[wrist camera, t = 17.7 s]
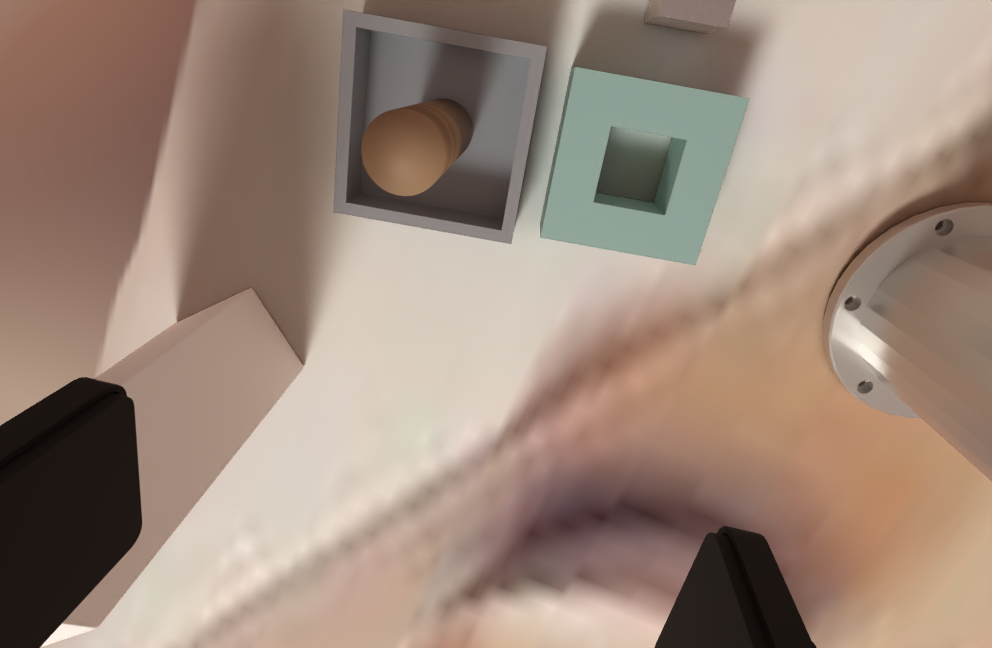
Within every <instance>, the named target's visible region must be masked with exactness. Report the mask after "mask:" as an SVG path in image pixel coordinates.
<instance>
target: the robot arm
mask: <svg viewBox="0 0 992 648" xmlns="http://www.w3.org/2000/svg"><path fill="white" fill-rule="evenodd" d="M847 298H848V299H847ZM822 340H823V346H824V352H825V357H826V359H827V361H828V363H829V366H830V368H831V370H832V372H833V373H834V375H835V376H836V377H837V379H838V380H839V381H840V382H841V384H842V385H843V386H844V387H845V388H846V389H847V390H848V391H849V392H850V393H851V394H852V395H853V396H854V397H855V398H857V399H858V400H860V401H861V402H863V403H865V404H866V405H868V406H869V407H871V408H873V409H876V410H879V411H881V412H884V413H887V414H890V415H895V416H901V417H906V418H921V419H922V420H924V421H925V422H926V423H927V424H928V425H929V426H930V427H931V428H932V429H934V430H935V431H936V432H937V433H938V434H939V435H940V436H941V437H943V438H944V439H945V440H946V441H947V442H948V443H949V444H950V445H951V446H953V447H954V448H955V449H956V450H957V451H958V452H959V453H960V454H961V455H963V456H964V457H965V458H966V459H967V460H968V461H969V462H970V463H972V464H973V465H974V466H975V467H976V468H977V469H978V470H979V471H980V472H982V473H983V474H984V475H985V476H986V477H987V478H988V479H989V480H991V481H992V203H988V202H985V203H959V204H954V205H948V206H943V207H938V208H935V209H932V210H929V211H927V212H924V213H921V214H918V215H915V216H913V217H911V218H909V219H907V220H905V221H903V222H901V223H900V224H898V225H896V226H894V227H892V228H890V229H889V230H887V231H886V232H885V233H883V234H882V235H881V236H879V237H878V238H877V239H875V240H874V241H873V242H871V243H870V244H869V245H868V246H867V247H866V248H865V249H864V250H863V251H862V252H861V253H860V254H859V255H858V256H857V257H856V258H855V259H854V260H853V261H852V262H851V263H850V265H849V266H848V268H847V269H846V270H845V272H844V273H843V274H842V276H841V277H840V279H839V280H838V282H837V284H836V286H835V288H834V290H833V292H832V294H831V296H830V298H829V300H828V304H827V308H826V311H825V315H824V319H823V333H822ZM141 529H142V509H141V495H140V480H139V465H138V451H137V436H136V421H135V407H134V402H133V400H132V399H131V398H130V397H127V393H126V391H125V389H124V388H123V387H122V386H120V385H117V384H113V383H108V382H104V381H100V380H95V379H91V378H87V377H86V378H85V377H84V378H78V379H76V380H74V381H72V382H70V383H69V384H67V385H66V386H64V387H62V388H61V389H59V390H57V391H56V392H54V393H53V394H51V395H49V396H48V397H46V398H44V399H43V400H41V401H40V402H38V403H36V404H35V405H33V406H31V407H30V408H28V409H27V410H25V411H23V412H22V413H20V414H18V415H17V416H15V417H14V418H12V419H10V420H9V421H7V422H5V423H4V424H2V425H1V426H0V648H40V647H41V646H42V645H43V644H44V642H45V641H46V640H47V639H48V638H49V637H50V636H51V635H52V634H53V633H54V632H55V630H56V629H57V628H58V627H59V626H60V625H61V624H62V623H63V622H64V621H65V620H66V619H67V617H68V616H69V615H70V614H71V613H72V612H73V611H74V610H75V609H76V608H77V607H78V605H79V604H80V603H81V602H82V601H83V600H84V599H85V598H86V597H87V596H88V595H89V594H90V592H91V591H92V590H93V589H94V588H95V587H96V586H97V585H98V584H99V583H100V582H101V580H102V579H103V578H104V577H105V576H106V575H107V574H108V573H109V572H110V571H111V570H112V568H113V567H114V566H115V565H116V564H117V563H118V562H119V561H120V560H121V559H122V558H123V557H124V555H125V554H126V553H127V552H128V551H129V550H130V549H131V548H132V547H133V545H134V544H135V542H136V541H137V539H138V537H139V535H140V532H141ZM655 648H816V646H815V644H814V643H813V642H812V641H811V639H810V637H809V634H808V632H807V630H806V628H805V625H804V623H803V621H802V619H801V616H800V614H799V612H798V610H797V607H796V605H795V603H794V601H793V598H792V596H791V594H790V592H789V590H788V587H787V585H786V583H785V581H784V578H783V576H782V574H781V572H780V569H779V567H778V565H777V563H776V560H775V558H774V556H773V554H772V551H771V549H770V547H769V545H768V543H767V541H766V539H765V538H764V536H762V535H761V534H758V533H754V532H749V531H745V530H741V529H736V528H732V527H728V526H723V527H722V528H720V529H719V531H718V532H717V534H716V533H709V534H707V535H706V537H705V539H704V541H703V543H702V545H701V547H700V550H699V552H698V554H697V556H696V558H695V560H694V563H693V565H692V567H691V569H690V571H689V573H688V576H687V578H686V580H685V582H684V584H683V586H682V588H681V591H680V593H679V595H678V597H677V599H676V601H675V604H674V606H673V608H672V610H671V612H670V614H669V617H668V619H667V621H666V623H665V625H664V627H663V630H662V632H661V634H660V636H659V638H658V640H657V642H656V645H655Z"/></svg>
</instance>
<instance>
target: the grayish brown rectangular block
mask: <svg viewBox="0 0 992 648" xmlns="http://www.w3.org/2000/svg"><path fill="white" fill-rule="evenodd" d="M735 1H736V0H649V4H648V8H647V12H646V16H645V21H644V23H650V24H655V25H661V26H666V27H672V28H677V29H683V30H688V31H693V32H699V33H704V34H706V33H710V32H714V31H718V30H722V29H727V28H728V25H729V22H730V18H731V15H732V11H733V8H734V5H735Z"/></svg>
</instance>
